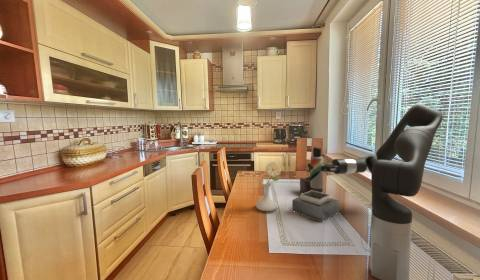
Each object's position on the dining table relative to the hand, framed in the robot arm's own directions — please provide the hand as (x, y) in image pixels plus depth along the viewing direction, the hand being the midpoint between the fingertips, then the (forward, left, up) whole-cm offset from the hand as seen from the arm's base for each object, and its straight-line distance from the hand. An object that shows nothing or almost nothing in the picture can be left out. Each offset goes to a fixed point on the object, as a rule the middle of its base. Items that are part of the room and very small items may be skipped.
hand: (310, 167), depth 102 cm
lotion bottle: (+3, -2, -10) cm, 11 cm away
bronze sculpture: (+26, +16, -23) cm, 39 cm away
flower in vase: (-13, +16, -23) cm, 31 cm away
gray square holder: (+2, -2, -23) cm, 23 cm away
